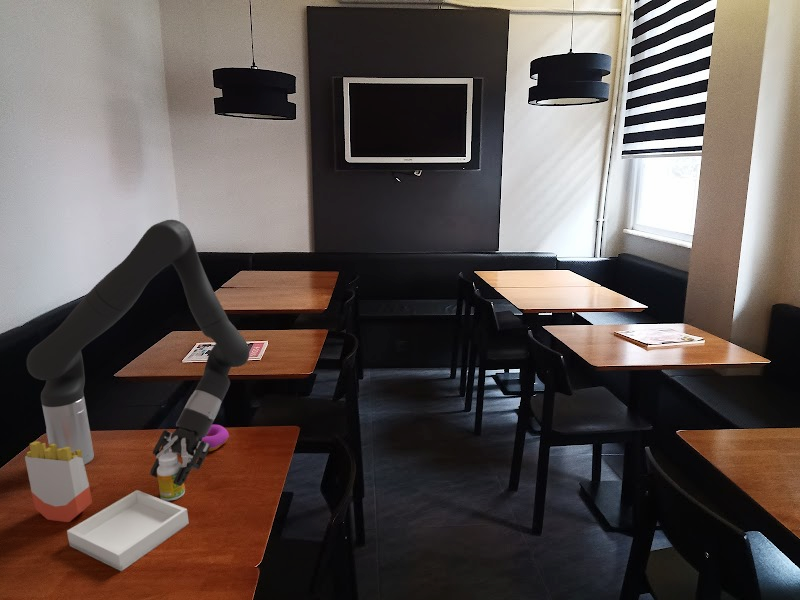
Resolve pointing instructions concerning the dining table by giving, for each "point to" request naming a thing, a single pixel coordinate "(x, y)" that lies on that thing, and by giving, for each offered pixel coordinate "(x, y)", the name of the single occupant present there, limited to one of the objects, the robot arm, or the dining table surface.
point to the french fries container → (57, 481)
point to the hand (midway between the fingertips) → (165, 480)
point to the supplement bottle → (169, 477)
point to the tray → (127, 529)
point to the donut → (216, 437)
